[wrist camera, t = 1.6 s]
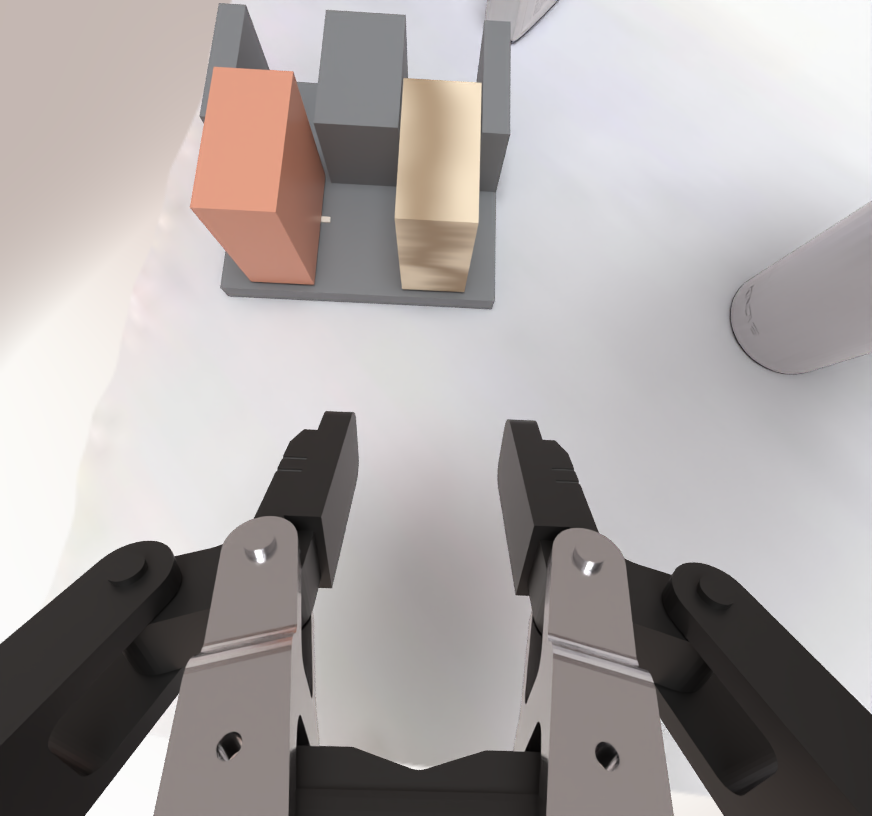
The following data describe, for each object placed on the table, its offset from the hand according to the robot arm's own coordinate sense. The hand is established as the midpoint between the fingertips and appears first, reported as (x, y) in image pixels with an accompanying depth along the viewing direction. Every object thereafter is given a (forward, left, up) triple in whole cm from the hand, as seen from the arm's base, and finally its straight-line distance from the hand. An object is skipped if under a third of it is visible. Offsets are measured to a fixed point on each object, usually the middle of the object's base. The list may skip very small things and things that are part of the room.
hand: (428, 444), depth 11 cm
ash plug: (0, -20, -20) cm, 28 cm away
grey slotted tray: (+6, -24, -22) cm, 33 cm away
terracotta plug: (+12, -20, -20) cm, 31 cm away
